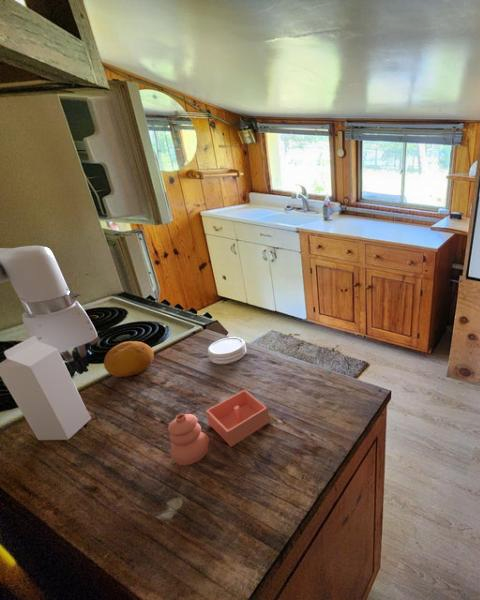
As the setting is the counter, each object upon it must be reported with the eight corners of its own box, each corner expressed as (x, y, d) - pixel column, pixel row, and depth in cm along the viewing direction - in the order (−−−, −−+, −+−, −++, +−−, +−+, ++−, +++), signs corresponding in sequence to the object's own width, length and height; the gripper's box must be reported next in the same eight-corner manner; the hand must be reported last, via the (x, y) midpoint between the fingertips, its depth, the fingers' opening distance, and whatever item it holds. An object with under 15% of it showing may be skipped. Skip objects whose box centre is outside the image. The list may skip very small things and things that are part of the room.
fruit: (99, 375, 86) (89, 350, 83) (142, 355, 95) (133, 332, 92) (123, 387, 83) (113, 361, 79) (165, 365, 92) (157, 341, 88)
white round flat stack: (253, 353, 99) (252, 343, 97) (222, 369, 91) (220, 359, 89) (234, 342, 103) (232, 333, 102) (202, 357, 96) (200, 347, 94)
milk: (91, 418, 73) (52, 334, 64) (67, 440, 68) (21, 352, 58) (62, 419, 73) (19, 334, 64) (36, 440, 67) (-15, 351, 58)
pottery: (247, 402, 80) (241, 370, 75) (269, 421, 75) (264, 387, 70) (164, 450, 66) (151, 414, 62) (184, 477, 61) (171, 439, 57)
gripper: (84, 288, 78) (110, 351, 86) (-8, 312, 66) (33, 383, 74) (99, 295, 75) (125, 360, 83) (6, 321, 63) (46, 394, 71)
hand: (81, 370), depth 79 cm, fingers closed
